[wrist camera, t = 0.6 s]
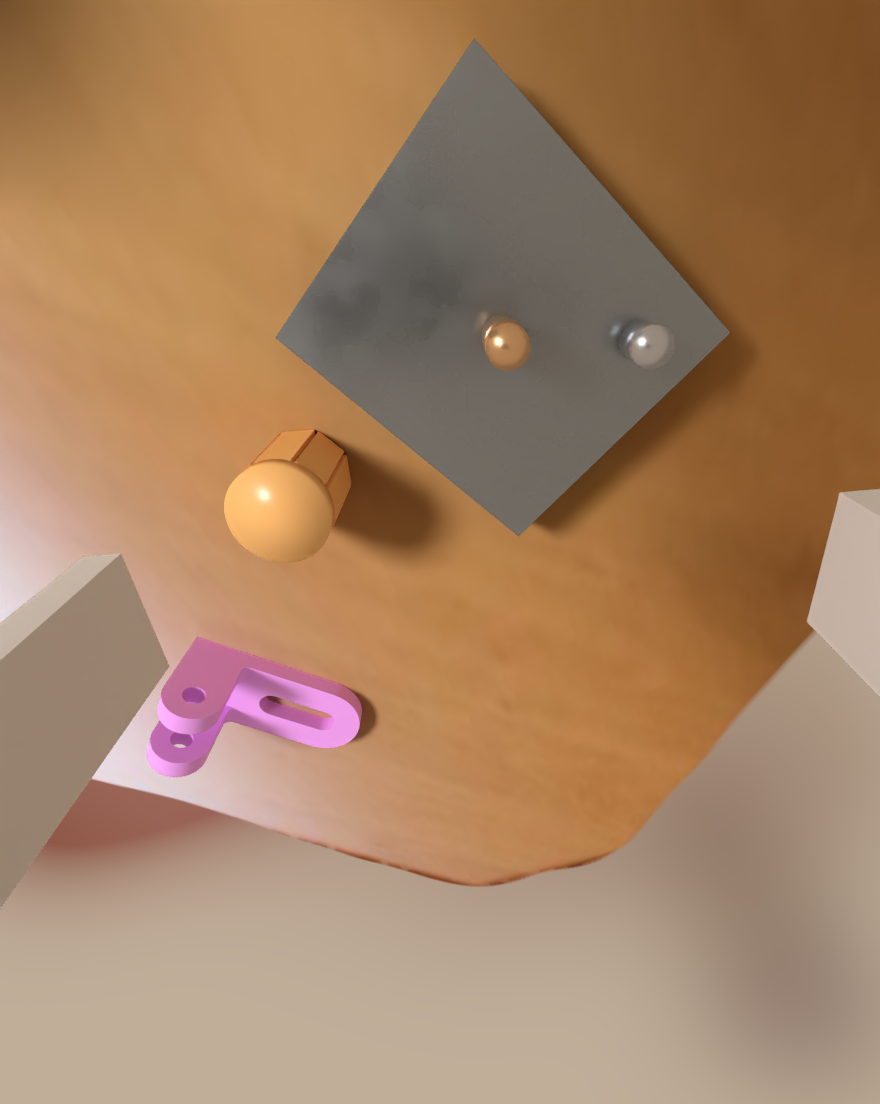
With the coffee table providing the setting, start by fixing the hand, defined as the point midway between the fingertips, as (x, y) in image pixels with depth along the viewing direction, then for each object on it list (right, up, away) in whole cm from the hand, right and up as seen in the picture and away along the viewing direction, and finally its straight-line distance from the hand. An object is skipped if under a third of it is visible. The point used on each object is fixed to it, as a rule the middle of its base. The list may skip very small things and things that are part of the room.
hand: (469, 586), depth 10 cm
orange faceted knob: (-8, +5, +22) cm, 24 cm away
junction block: (+2, +12, +18) cm, 22 cm away
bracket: (-13, -10, +30) cm, 34 cm away
